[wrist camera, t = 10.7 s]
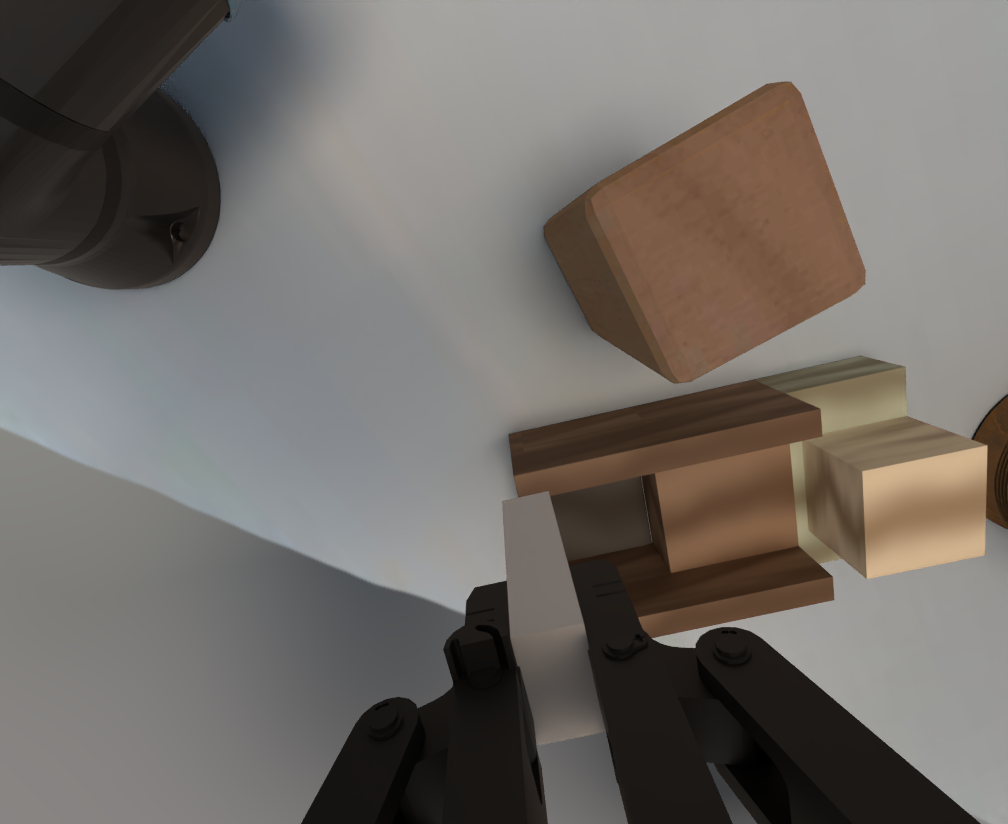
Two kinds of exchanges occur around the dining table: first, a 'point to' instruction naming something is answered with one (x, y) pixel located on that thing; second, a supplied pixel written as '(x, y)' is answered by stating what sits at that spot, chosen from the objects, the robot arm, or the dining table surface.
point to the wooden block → (711, 239)
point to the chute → (705, 490)
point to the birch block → (896, 495)
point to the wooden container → (996, 462)
